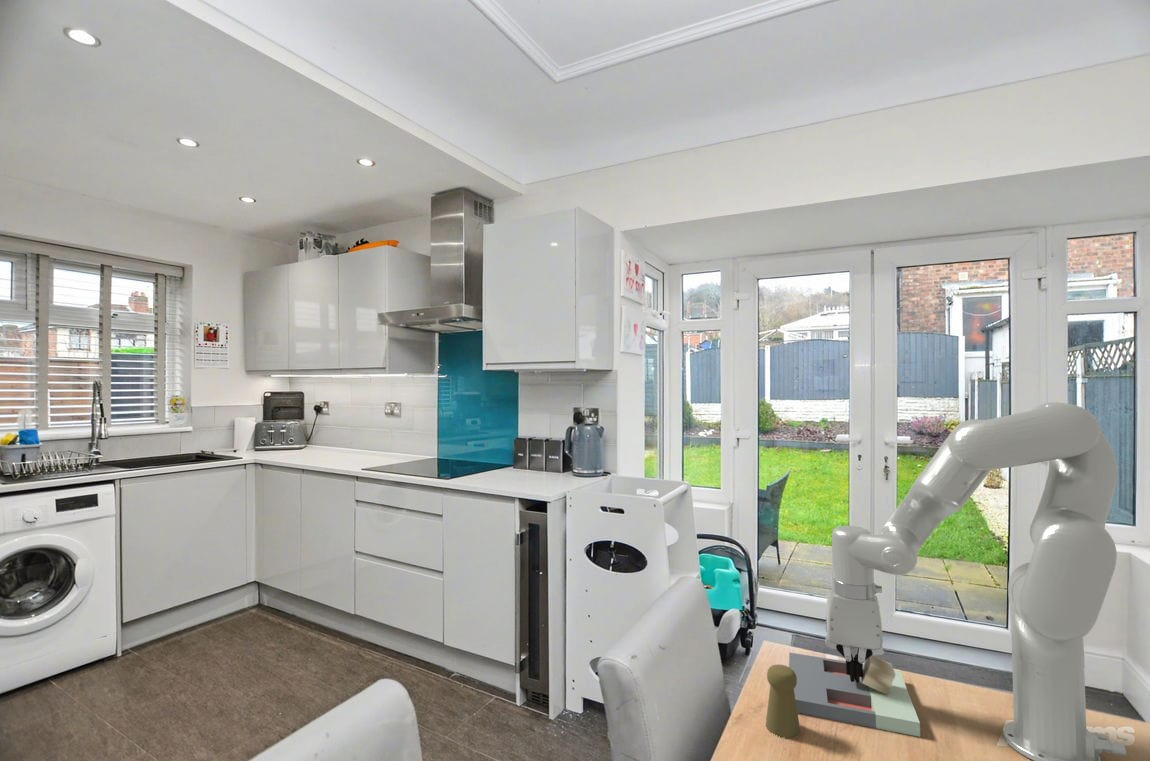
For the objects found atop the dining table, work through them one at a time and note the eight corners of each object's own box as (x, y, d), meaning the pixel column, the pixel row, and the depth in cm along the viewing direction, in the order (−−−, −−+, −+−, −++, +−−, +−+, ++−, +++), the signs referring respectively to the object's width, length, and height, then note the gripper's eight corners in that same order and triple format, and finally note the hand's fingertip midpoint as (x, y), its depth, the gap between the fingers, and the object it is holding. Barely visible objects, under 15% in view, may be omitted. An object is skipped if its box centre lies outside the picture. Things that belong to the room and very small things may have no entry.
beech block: (883, 683, 110) (891, 664, 110) (887, 695, 106) (895, 674, 106) (860, 672, 112) (867, 653, 112) (862, 683, 108) (870, 663, 107)
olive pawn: (803, 740, 97) (802, 678, 97) (768, 736, 98) (766, 674, 98) (796, 720, 103) (795, 661, 103) (763, 716, 104) (762, 658, 104)
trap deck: (899, 681, 116) (899, 669, 116) (920, 736, 97) (919, 722, 97) (789, 663, 124) (789, 652, 124) (788, 711, 106) (788, 698, 106)
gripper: (891, 587, 111) (893, 677, 111) (812, 578, 117) (813, 663, 117) (898, 600, 104) (900, 696, 104) (813, 590, 110) (815, 681, 110)
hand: (854, 678), depth 110 cm, fingers closed
